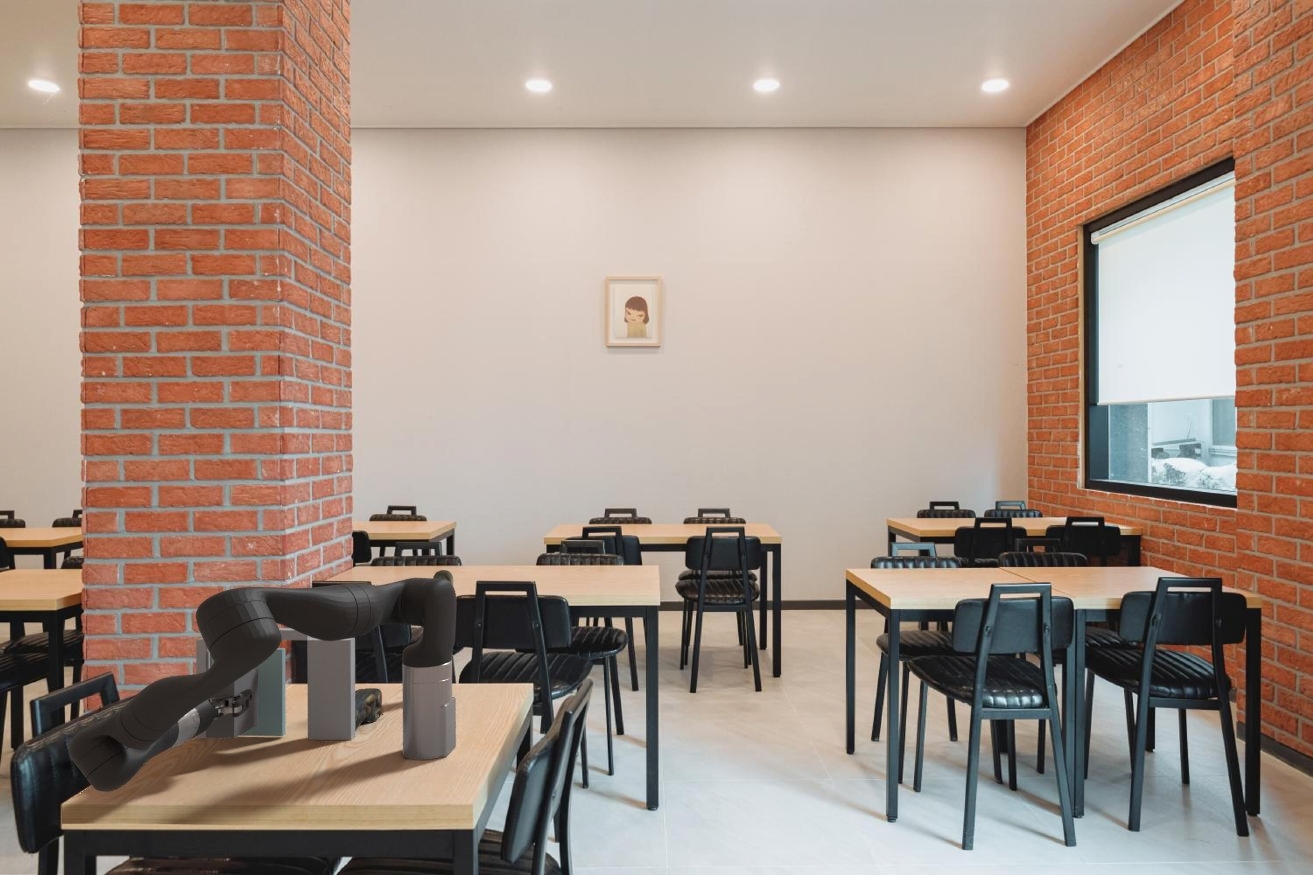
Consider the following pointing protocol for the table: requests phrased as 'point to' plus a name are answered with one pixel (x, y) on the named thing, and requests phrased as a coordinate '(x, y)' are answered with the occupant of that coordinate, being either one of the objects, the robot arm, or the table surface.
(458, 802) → the table surface
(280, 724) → the door
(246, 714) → the doorstop block
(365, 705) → the sculpture
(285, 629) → the wall frame
